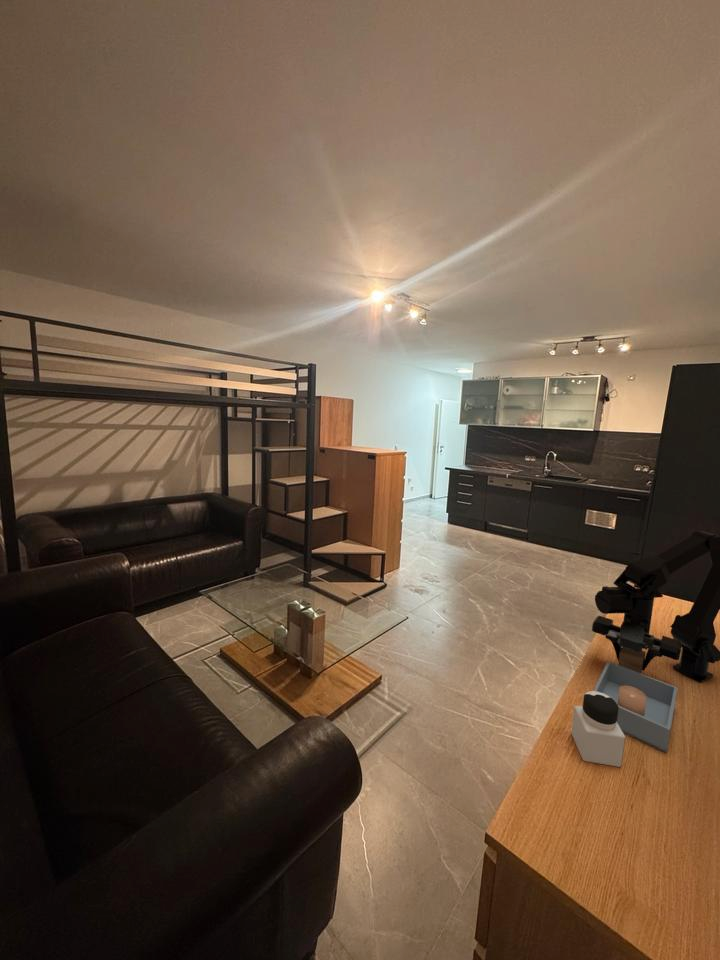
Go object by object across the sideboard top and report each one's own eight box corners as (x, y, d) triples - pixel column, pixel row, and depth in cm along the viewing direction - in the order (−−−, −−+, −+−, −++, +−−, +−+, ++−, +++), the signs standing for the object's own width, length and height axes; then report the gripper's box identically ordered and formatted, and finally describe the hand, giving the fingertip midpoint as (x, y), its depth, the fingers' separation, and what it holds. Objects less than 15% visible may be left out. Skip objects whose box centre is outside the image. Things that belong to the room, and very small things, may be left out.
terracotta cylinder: (614, 709, 89) (617, 682, 88) (640, 717, 87) (643, 689, 86) (617, 724, 85) (621, 696, 84) (645, 732, 82) (648, 703, 81)
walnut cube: (621, 660, 105) (623, 644, 104) (643, 668, 101) (645, 651, 101) (617, 668, 101) (619, 651, 101) (640, 677, 98) (642, 660, 97)
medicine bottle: (622, 768, 75) (629, 715, 73) (582, 761, 76) (588, 709, 74) (606, 738, 82) (612, 689, 80) (570, 733, 83) (576, 684, 81)
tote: (605, 679, 100) (607, 660, 99) (674, 708, 90) (677, 687, 89) (588, 715, 88) (591, 695, 87) (666, 753, 78) (670, 730, 77)
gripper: (589, 609, 99) (583, 663, 102) (681, 638, 87) (672, 698, 89) (599, 595, 107) (594, 645, 110) (685, 620, 94) (676, 675, 97)
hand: (630, 665), depth 101 cm, fingers closed on walnut cube, 5 cm apart
